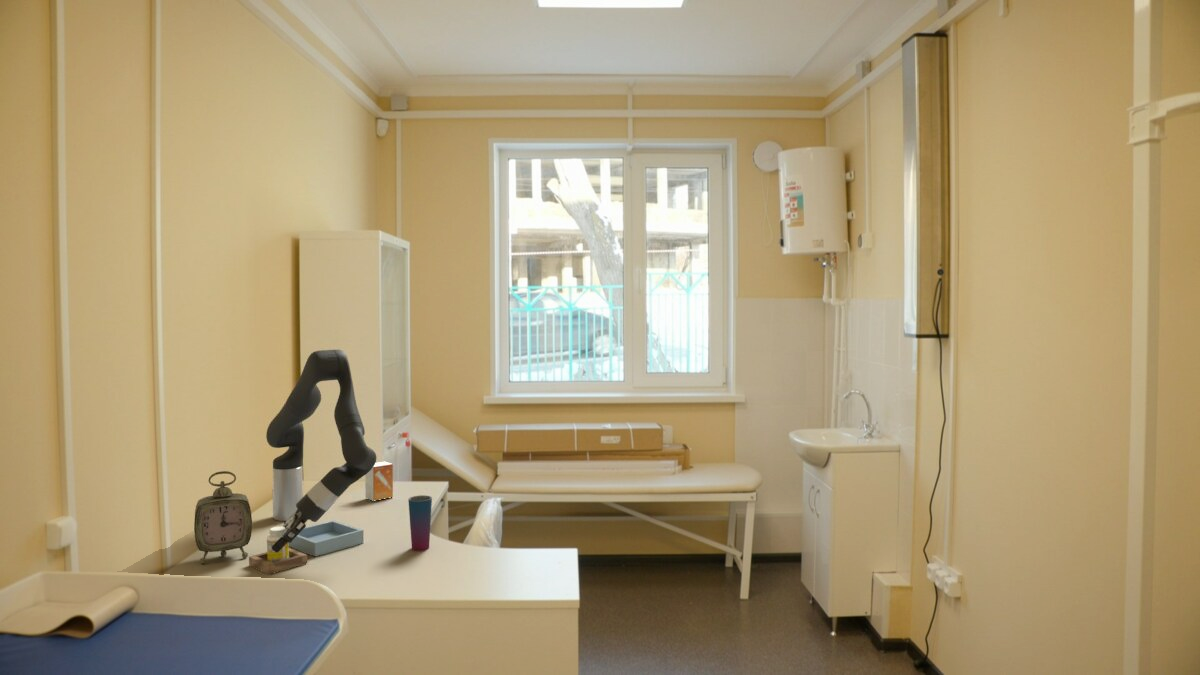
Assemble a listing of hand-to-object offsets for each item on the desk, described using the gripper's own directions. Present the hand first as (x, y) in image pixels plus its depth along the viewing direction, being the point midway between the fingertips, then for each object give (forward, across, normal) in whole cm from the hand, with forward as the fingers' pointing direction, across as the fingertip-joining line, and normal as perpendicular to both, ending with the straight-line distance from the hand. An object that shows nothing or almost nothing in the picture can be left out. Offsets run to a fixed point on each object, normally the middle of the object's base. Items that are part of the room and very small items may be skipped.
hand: (274, 545), depth 212 cm
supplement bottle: (+3, 0, +5) cm, 6 cm away
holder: (+3, 0, +4) cm, 6 cm away
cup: (-24, 0, +32) cm, 40 cm away
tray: (-6, -14, +13) cm, 20 cm away
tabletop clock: (+14, -11, -6) cm, 19 cm away
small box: (-20, -63, +28) cm, 72 cm away
